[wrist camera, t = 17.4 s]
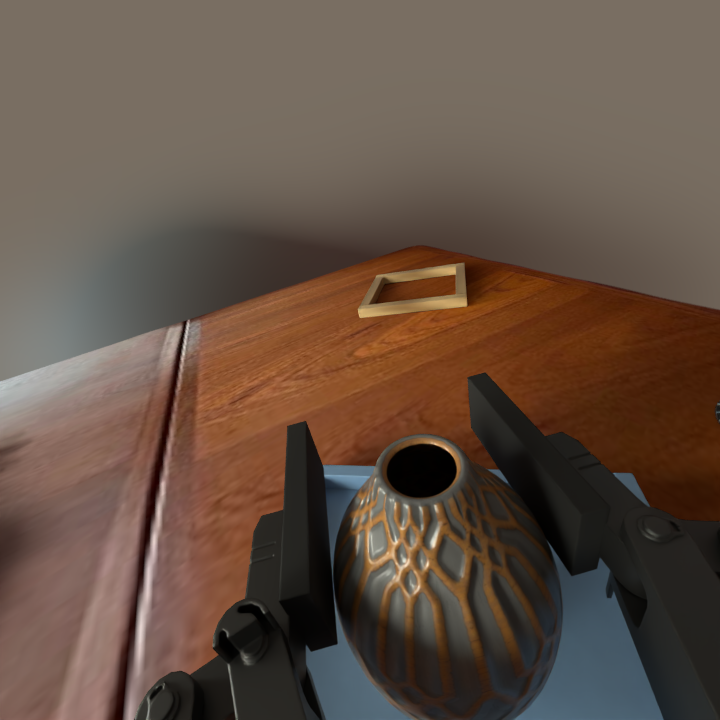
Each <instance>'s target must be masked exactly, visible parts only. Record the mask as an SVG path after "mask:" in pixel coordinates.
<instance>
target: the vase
mask: <svg viewBox="0 0 720 720" xmlns="http://www.w3.org/2000/svg"><path fill="white" fill-rule="evenodd" d="M333 585H334V596H335V603H336V608H337V613H338V617H339V621H340V624H341V627H342V630H343V633H344V635H345V638H346V640H347V643H348V645H349V647H350V649H351V651H352V653H353V656H354V657H355V659H356V661H357V662H358V664H359V666H360V667H361V669H362V671H363V672H364V674H365V675H366V677H367V678H368V679H369V681H370V682H371V683H372V684H373V686H374V687H375V688H376V689H377V690H378V692H379V693H380V694H381V695H382V696H383V697H384V698H385V699H386V700H387V701H388V702H389V703H390V704H391V705H392V706H393V707H395V708H396V709H397V710H398V711H400V712H401V713H403V714H404V715H405V716H407V717H409V718H410V719H412V720H514V719H515V718H517V717H518V716H519V715H521V714H522V713H523V712H524V711H525V710H526V709H527V708H528V707H529V706H530V705H531V704H532V703H533V702H534V701H535V700H536V698H537V697H538V696H539V694H540V693H541V691H542V690H543V688H544V686H545V684H546V682H547V680H548V678H549V676H550V674H551V671H552V669H553V666H554V664H555V660H556V657H557V654H558V649H559V645H560V640H561V634H562V623H563V599H562V591H561V584H560V579H559V574H558V570H557V566H556V563H555V560H554V557H553V554H552V551H551V549H550V546H549V544H548V541H547V539H546V537H545V535H544V533H543V531H542V529H541V527H540V525H539V523H538V522H537V520H536V518H535V516H534V515H533V513H532V512H531V510H530V509H529V508H528V506H527V505H526V504H525V502H524V501H523V500H522V499H521V497H520V496H519V495H518V494H517V493H516V492H515V491H514V490H513V489H512V488H511V487H510V486H509V485H508V484H507V483H505V482H504V481H503V480H502V479H501V478H499V477H498V476H497V475H495V474H494V473H492V472H491V471H489V470H487V469H486V468H484V467H482V466H480V465H479V464H477V463H475V462H473V461H471V460H470V459H469V458H468V457H467V455H466V454H465V453H464V451H463V450H462V449H461V448H460V447H459V446H458V445H456V444H455V443H454V442H452V441H450V440H448V439H446V438H444V437H441V436H437V435H432V434H416V435H411V436H407V437H404V438H401V439H399V440H397V441H395V442H394V443H392V444H391V445H389V446H388V447H387V448H386V449H385V450H384V451H383V452H382V454H381V455H380V457H379V458H378V460H377V463H376V466H375V469H374V472H373V474H372V475H371V476H370V477H369V479H368V480H367V481H366V482H365V483H364V484H363V485H362V486H361V488H360V489H359V490H358V491H357V493H356V494H355V495H354V497H353V498H352V500H351V502H350V504H349V505H348V507H347V509H346V511H345V513H344V516H343V518H342V521H341V524H340V527H339V531H338V534H337V538H336V544H335V551H334V561H333Z"/></svg>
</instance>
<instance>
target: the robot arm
mask: <svg viewBox="0 0 720 720" xmlns="http://www.w3.org/2000/svg"><path fill="white" fill-rule="evenodd" d="M468 390H469V404H470V418H471V428H472V430H473V431H474V432H475V434H476V435H477V437H478V438H479V440H480V441H481V443H482V444H483V446H484V447H485V449H486V450H487V452H488V453H489V455H490V456H491V458H492V459H493V461H494V462H495V464H496V465H497V467H498V468H499V470H500V471H501V473H502V474H503V476H504V477H505V478H506V480H507V481H508V483H509V484H510V486H511V487H512V489H513V490H514V491H515V492H516V493H517V494H518V495H519V496H520V497H521V499H522V500H523V501H524V502H525V504H526V505H527V506H528V508H529V509H530V510H531V512H532V513H533V515H534V516H535V518H536V520H537V522H538V523H539V525H540V527H541V529H542V531H543V533H544V535H545V537H546V539H547V541H548V542H549V544H550V545H551V547H552V548H553V550H554V551H555V553H556V554H557V556H558V557H559V559H560V560H561V562H562V563H563V564H564V566H565V567H566V569H567V570H568V572H569V573H570V575H571V576H575V575H578V574H582V573H585V572H589V571H592V570H595V569H597V567H598V563H599V558H601V559H602V561H603V562H604V563H605V564H606V566H607V567H608V568H609V570H610V573H609V577H608V581H607V585H606V589H605V590H606V596H607V598H612V595H613V591H614V593H615V596H616V598H617V601H618V604H619V606H620V609H621V611H622V614H623V616H624V619H625V622H626V624H627V627H628V629H629V632H630V634H631V637H632V640H633V642H634V645H635V647H636V650H637V652H638V655H639V657H640V660H641V663H642V665H643V668H644V670H645V673H646V675H647V678H648V681H649V683H650V686H651V688H652V691H653V693H654V696H655V699H656V701H657V704H658V706H659V709H660V711H661V714H662V716H663V719H664V720H720V521H695V520H682V519H676V518H675V517H673V516H672V515H670V514H669V513H667V512H664V511H662V510H659V509H657V508H653V507H648V506H647V505H646V504H644V503H643V502H642V501H641V500H640V499H639V498H637V497H636V496H635V495H634V494H633V493H632V492H631V491H630V490H629V489H628V488H627V487H626V486H625V485H624V484H623V483H622V482H621V481H620V480H619V479H618V478H617V477H616V476H615V475H613V474H612V473H611V472H610V471H609V470H608V469H607V468H606V467H605V466H604V465H603V464H601V463H600V461H599V460H598V459H597V458H596V457H595V456H594V455H593V454H592V455H591V454H590V452H589V451H588V450H587V449H586V448H585V447H584V446H583V445H582V444H581V443H580V442H579V441H578V440H576V439H574V438H572V437H570V436H568V435H567V434H565V433H563V432H559V433H556V434H552V435H548V436H544V435H543V434H542V433H541V432H540V430H539V429H538V428H537V427H536V426H535V425H534V424H533V423H532V422H531V421H530V420H529V419H528V418H527V417H526V415H525V414H524V413H523V412H522V411H521V410H520V409H519V408H518V407H517V406H516V405H515V404H514V403H513V402H512V400H511V399H510V398H509V397H508V396H507V395H506V394H505V393H504V392H503V391H502V390H501V389H500V388H499V387H498V386H497V384H496V383H495V382H494V381H493V380H492V379H491V378H490V377H489V376H488V375H487V374H486V373H481V374H478V375H474V376H470V377H468ZM337 644H338V641H337V629H336V616H335V603H334V591H333V578H332V566H331V553H330V540H329V528H328V515H327V503H326V490H325V478H324V468H323V465H322V462H321V460H320V457H319V454H318V452H317V449H316V446H315V444H314V441H313V438H312V436H311V433H310V430H309V428H308V425H307V423H306V421H304V422H300V423H297V424H293V425H289V426H288V428H287V447H286V467H285V486H284V506H283V510H281V511H278V512H274V513H270V514H267V515H263V516H261V518H260V520H259V522H258V524H257V526H256V528H255V530H254V534H253V542H252V551H251V557H250V565H249V572H248V580H247V588H246V595H245V599H243V600H241V601H239V602H236V603H235V604H234V605H233V606H232V607H231V608H229V609H228V610H227V611H226V612H225V614H224V615H223V617H222V618H221V620H220V621H219V622H218V625H217V628H216V630H215V633H214V636H213V649H214V650H215V651H216V652H217V653H218V654H219V655H218V656H217V657H215V658H214V659H213V660H211V661H210V662H208V663H207V664H205V665H204V666H202V667H201V668H199V669H198V670H197V671H195V672H194V673H192V674H191V675H189V674H187V673H185V672H183V671H177V672H171V673H169V674H168V675H166V676H164V677H163V678H161V679H160V680H159V681H158V682H157V683H156V684H155V685H154V686H153V687H152V688H151V689H150V690H149V691H148V693H147V694H146V696H145V697H144V699H143V701H142V702H141V704H140V705H139V708H138V711H137V713H136V716H135V719H134V720H326V718H325V715H324V712H323V709H322V706H321V703H320V700H319V697H318V694H317V691H316V688H315V685H314V681H313V678H312V675H311V672H310V670H309V668H308V667H307V665H306V645H307V647H308V648H309V650H310V651H311V652H313V651H316V650H320V649H323V648H326V647H330V646H333V645H337Z"/></svg>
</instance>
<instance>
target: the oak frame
mask: <svg viewBox="0 0 720 720" xmlns="http://www.w3.org/2000/svg"><path fill="white" fill-rule="evenodd" d="M455 274H456V294H455V295H447V296H439V297H430V298H422V299H413V300H405V301H396V302H388V303H380V304H375V303H376V301H377V299H378V297H379V295H380V292H381V290H382V288H383V286H384V284H389V283H396V282H404V281H411V280H418V279H426V278H433V277H440V276H448V275H455ZM457 307H467V292H466V279H465V266H464V263H459V264H452V265H445V266H438V267H431V268H424V269H417V270H410V271H403V272H396V273H389V274H382V275H377V276H376V278H375V280H374V282H373V283H372V285H371V287H370V289H369V291H368V292H367V294H366V296H365V298H364V300H363V301H362V303H361V305H360V307H359V309H358V312H359V316H360V318H364V317H374V316H383V315H392V314H401V313H411V312H420V311H429V310H439V309H448V308H457Z"/></svg>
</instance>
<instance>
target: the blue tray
mask: <svg viewBox="0 0 720 720" xmlns="http://www.w3.org/2000/svg"><path fill="white" fill-rule="evenodd" d="M323 468H324V478H325V490H326V503H327V515H328V528H329V540H330V553H331V566H332V578H333V561H334V551H335V544H336V538H337V534H338V531H339V527H340V524H341V521H342V518H343V516H344V513H345V511H346V509H347V507H348V505H349V504H350V502H351V500H352V498H353V497H354V495H355V494H356V493H357V491H358V490H359V489H360V488H361V486H362V485H363V484H364V483H365V482H366V481H367V480H368V479H369V477H370V476H371V475H372V474H373V472H374V469H375V466H348V465H324V466H323ZM487 470H489V471H491V472H492V473H494V474H495V475H497V476H498V477H499V478H501V479H502V480H503V481H504V482H505V483H507V484H508V485H509V486H510V484H509V483H508V481H507V480H506V478H505V477H504V476H503V474H502V473H501V471H500V470H494V469H487ZM612 474H613V475H615V476H616V477H617V478H618V479H619V480H620V481H621V482H622V483H623V484H624V485H625V486H626V487H627V488H628V489H629V490H630V491H631V492H632V493H633V494H634V495H635V496H636V497H637V498H639V499H640V500H641V501H642V502H643V503H644V504H646V505H647V506H648V507H650V506H649V504H648V502H647V500H646V498H645V496H644V494H643V492H642V491H641V489H640V487H639V485H638V483H637V481H636V479H635V477H634V475H633V474H632V473H612ZM510 487H511V486H510ZM511 488H512V487H511ZM548 544H549V542H548ZM549 546H550V549H551V551H552V554H553V557H554V560H555V563H556V566H557V570H558V574H559V579H560V584H561V591H562V599H563V623H562V634H561V640H560V645H559V649H558V654H557V657H556V660H555V664H554V666H553V669H552V671H551V674H550V676H549V678H548V680H547V682H546V684H545V686H544V688H543V690H542V691H541V693H540V694H539V696H538V697H537V698H536V700H535V701H534V702H533V703H532V704H531V705H530V706H529V707H528V708H527V709H526V710H525V711H524V712H523V713H522V714H521V715H519V716H518V717H517V718H515V719H514V720H664V719H663V716H662V714H661V711H660V709H659V706H658V704H657V701H656V699H655V696H654V693H653V691H652V688H651V686H650V683H649V681H648V678H647V675H646V673H645V670H644V668H643V665H642V663H641V660H640V657H639V655H638V652H637V650H636V647H635V645H634V642H633V640H632V637H631V634H630V632H629V629H628V627H627V624H626V622H625V619H624V616H623V614H622V611H621V609H620V606H619V604H618V601H617V598H616V596H615V593H614V591H613V595H612V598H607V596H606V590H605V589H606V585H607V581H608V577H609V573H610V570H609V568H608V567H607V566H606V564H605V563H604V562H603V561H602V559H601V558H599V563H598V567H597V569H595V570H592V571H589V572H585V573H582V574H578V575H575V576H571V575H570V573H569V572H568V570H567V569H566V567H565V566H564V564H563V563H562V562H561V560H560V559H559V557H558V556H557V554H556V553H555V551H554V550H553V548H552V547H551V545H550V544H549ZM333 591H334V585H333ZM334 603H335V596H334ZM335 616H336V629H337V641H338V644H337V645H333V646H330V647H326V648H323V649H320V650H316V651H313V652H311V651H310V650H309V648H308V647H307V645H306V665H307V667H308V668H309V670H310V672H311V675H312V678H313V681H314V685H315V688H316V691H317V694H318V697H319V700H320V703H321V706H322V709H323V712H324V715H325V718H326V720H412V719H410V718H409V717H407V716H405V715H404V714H403V713H401V712H400V711H398V710H397V709H396V708H395V707H393V706H392V705H391V704H390V703H389V702H388V701H387V700H386V699H385V698H384V697H383V696H382V695H381V694H380V693H379V692H378V690H377V689H376V688H375V687H374V686H373V684H372V683H371V682H370V681H369V679H368V678H367V677H366V675H365V674H364V672H363V671H362V669H361V667H360V666H359V664H358V662H357V661H356V659H355V657H354V656H353V653H352V651H351V649H350V647H349V645H348V643H347V640H346V638H345V635H344V633H343V630H342V627H341V624H340V621H339V617H338V613H337V608H336V603H335Z"/></svg>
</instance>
